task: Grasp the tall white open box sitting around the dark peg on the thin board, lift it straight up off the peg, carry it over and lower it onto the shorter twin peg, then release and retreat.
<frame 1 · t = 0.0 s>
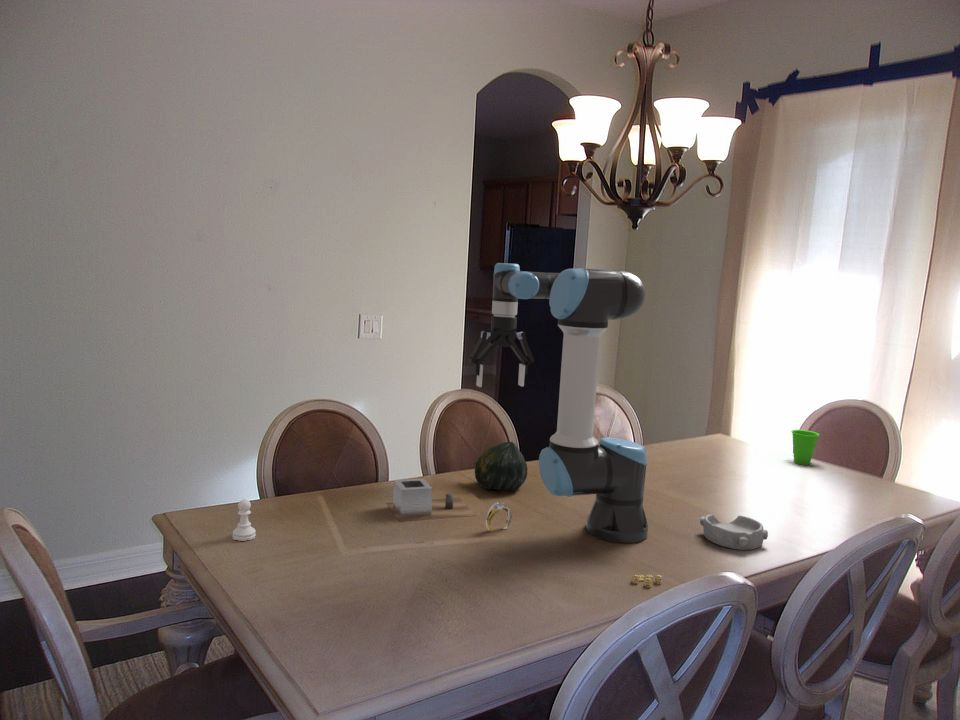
hand: (500, 386, 219), 28 cm above the table, tool pointing down, fingers open, 13 cm apart
squash: (500, 488, 211), on the table
white open box: (411, 510, 185), point 1 cm above the table, touching peg board
cup: (801, 463, 257), on the table
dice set: (645, 586, 154), on the table
bracelet: (497, 535, 176), on the table
chess pawn: (244, 538, 166), on the table
dish: (733, 542, 180), on the table
peg board: (430, 513, 187), on the table
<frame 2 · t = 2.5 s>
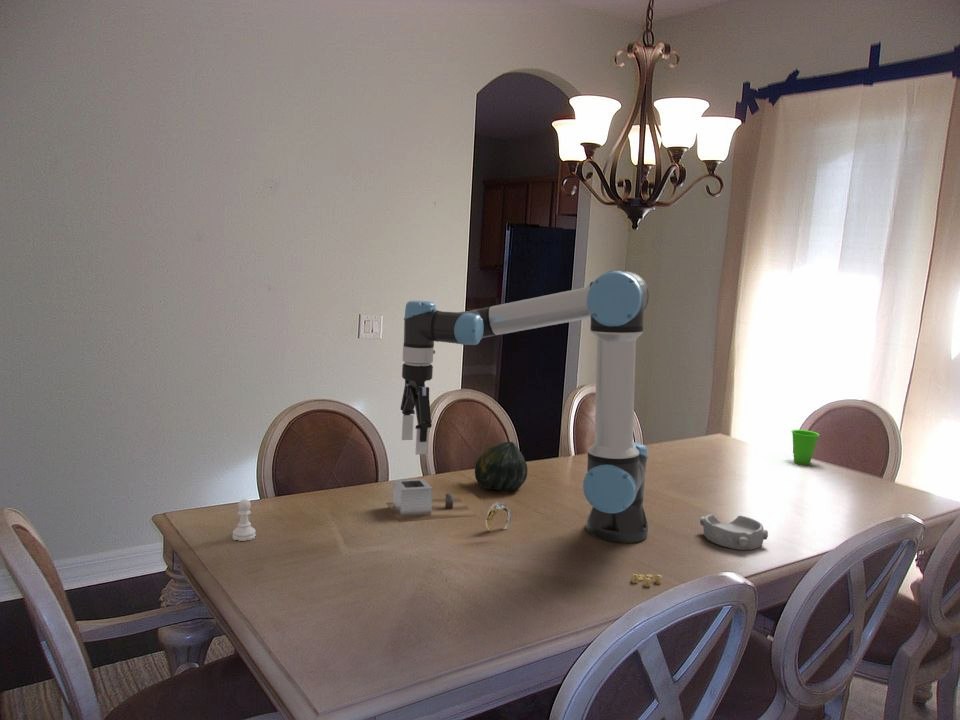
hand: (413, 446, 183), 18 cm above the table, tool pointing down, fingers open, 13 cm apart
nothing on the table moved.
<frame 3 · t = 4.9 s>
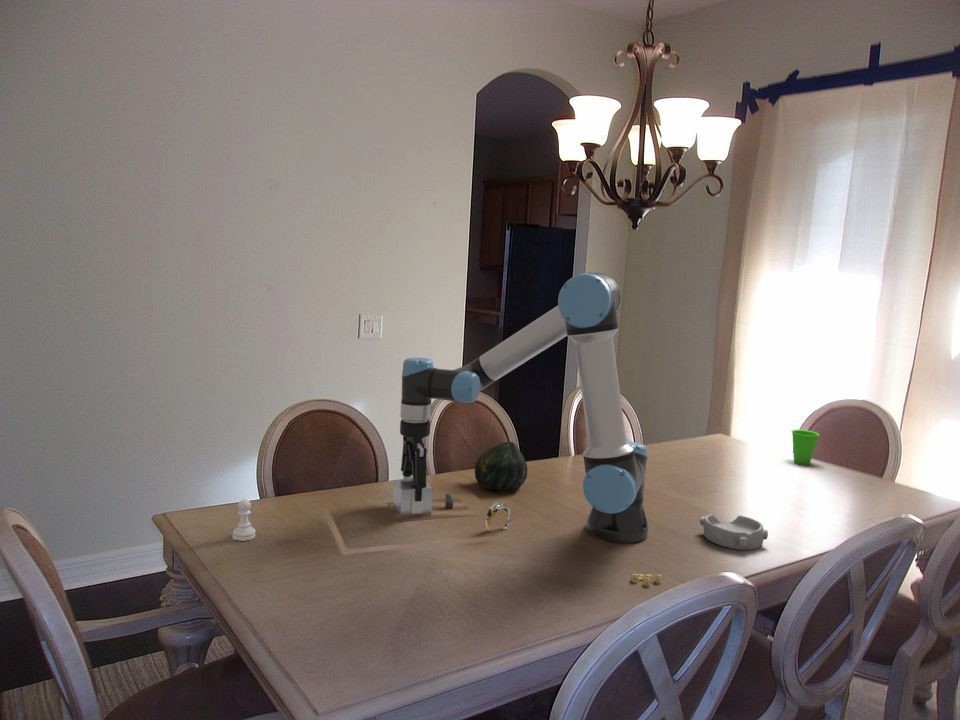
hand: (411, 506, 185), 2 cm above the table, tool pointing down, fingers closed on white open box, 8 cm apart
white open box: (411, 510, 185), point 1 cm above the table, touching gripper, peg board
everything else where it was.
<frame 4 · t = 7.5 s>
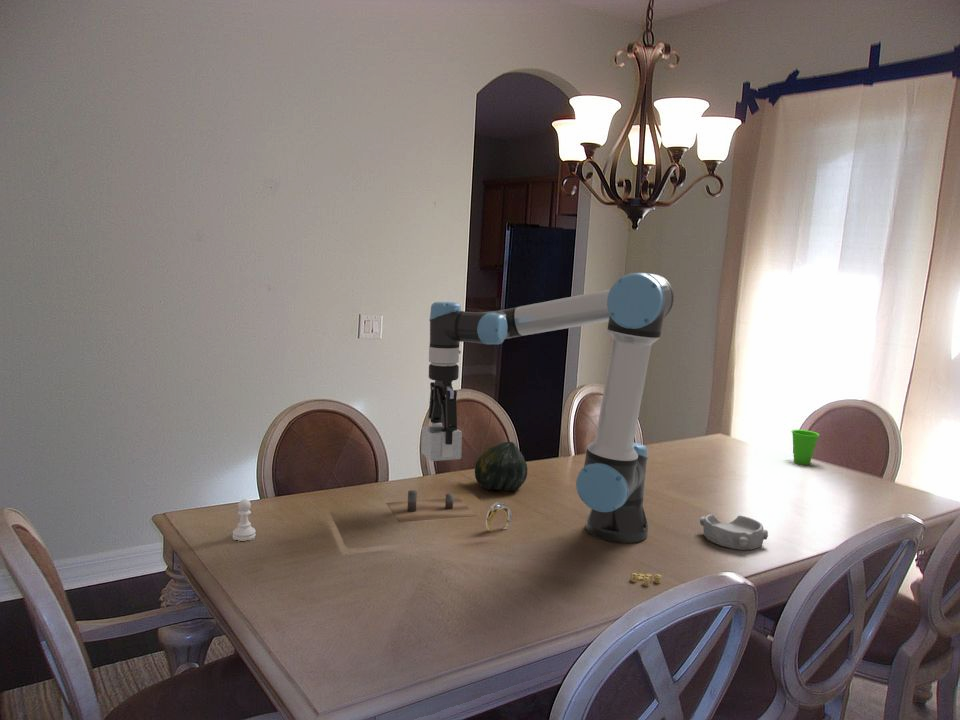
hand: (441, 451, 185), 16 cm above the table, tool pointing down, fingers closed on white open box, 8 cm apart
white open box: (441, 455, 185), point 15 cm above the table, touching gripper
everything else where it was.
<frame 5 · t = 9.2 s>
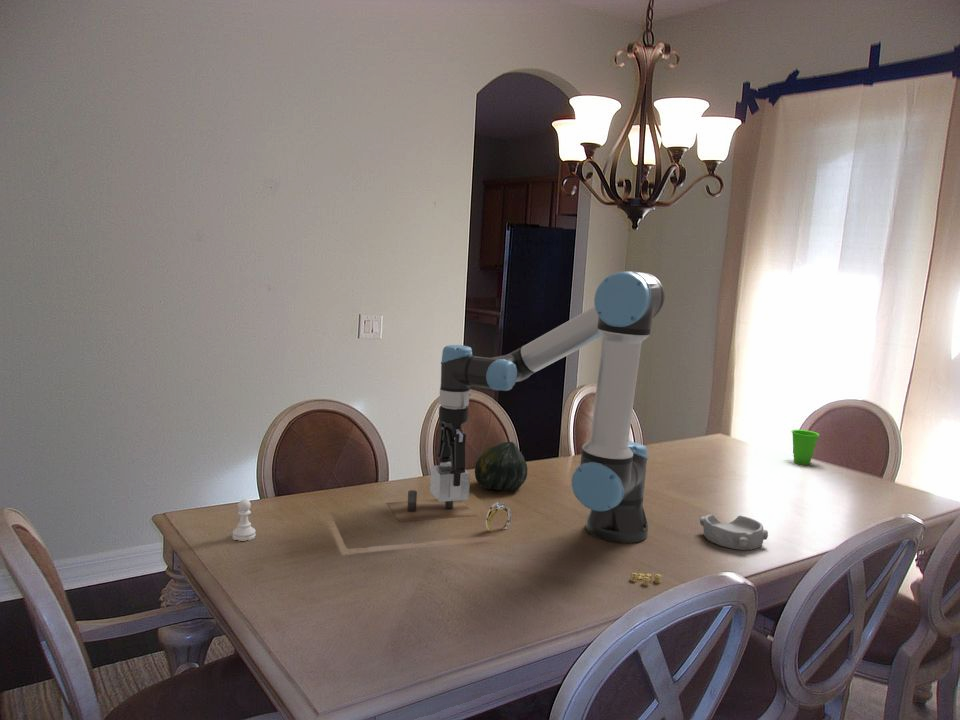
hand: (449, 491, 188), 6 cm above the table, tool pointing down, fingers closed on white open box, 8 cm apart
white open box: (449, 495, 188), point 4 cm above the table, touching gripper
everything else where it was.
when the fingers open (3 cm above the table, at t = 10.4 s): white open box drops 1 cm, resting on peg board.
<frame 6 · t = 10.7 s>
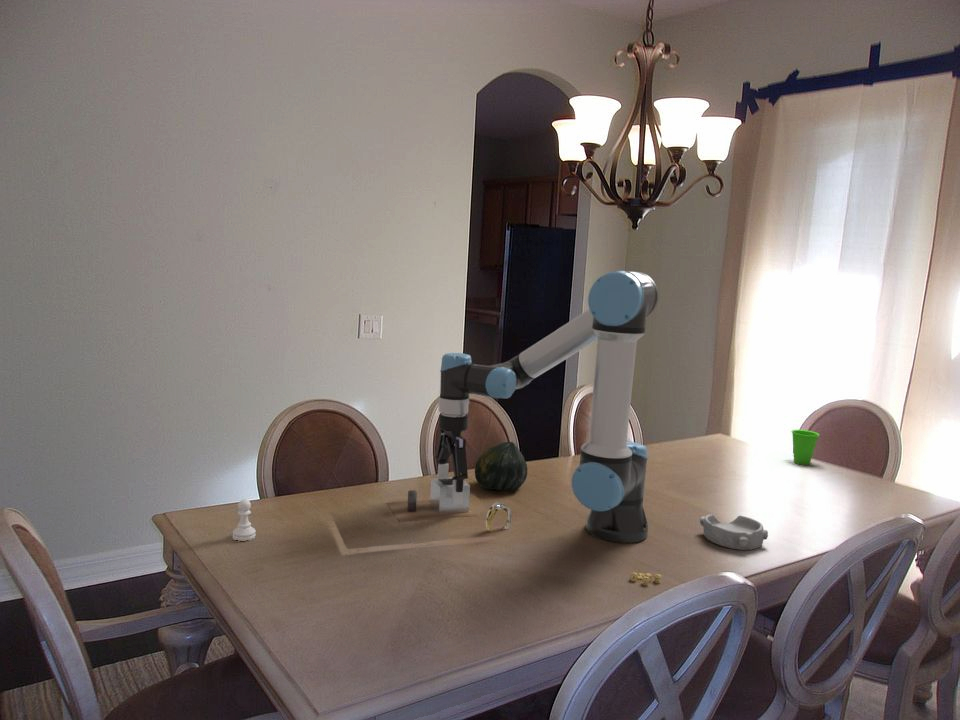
hand: (449, 495, 188), 5 cm above the table, tool pointing down, fingers open, 12 cm apart
white open box: (449, 507, 189), point 1 cm above the table, touching peg board
everything else where it was.
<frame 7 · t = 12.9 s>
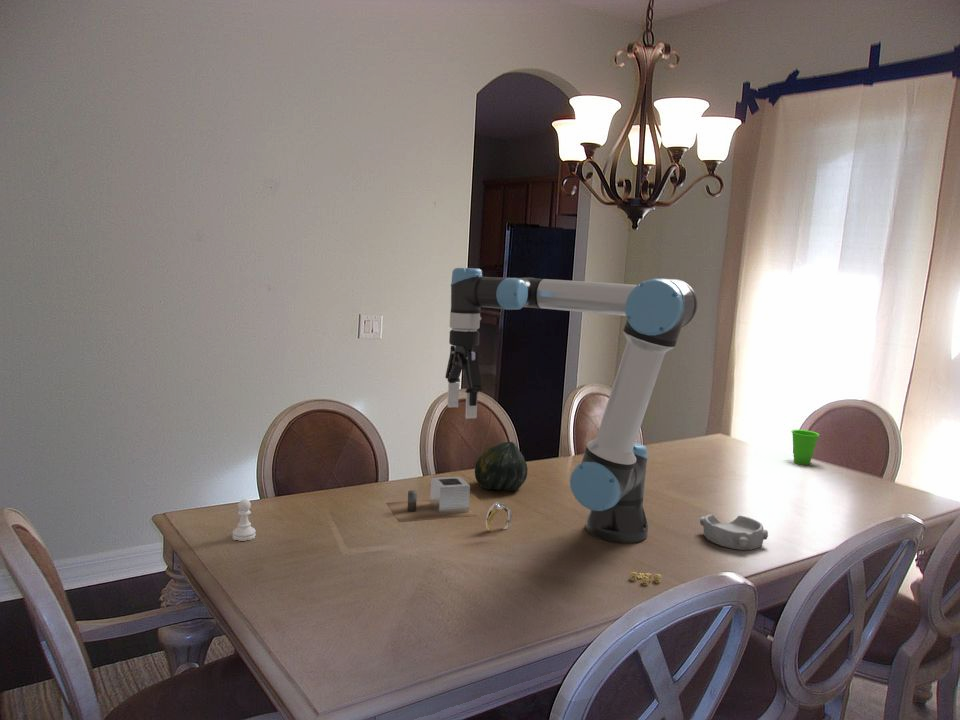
hand: (461, 412, 185), 27 cm above the table, tool pointing down, fingers open, 13 cm apart
nothing on the table moved.
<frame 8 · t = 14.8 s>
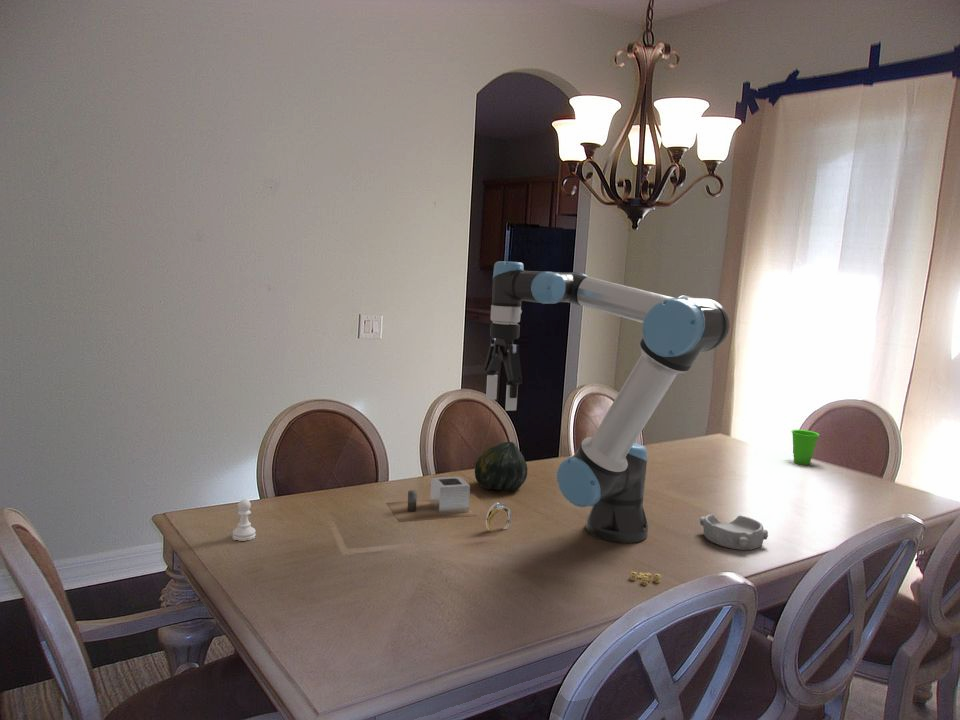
hand: (500, 404, 187), 29 cm above the table, tool pointing down, fingers open, 13 cm apart
at the end: white open box 0.1 cm from the target spot on the peg board, point 1.2 cm above the peg board's base; the gripper is holding nothing; white open box touching peg board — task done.
